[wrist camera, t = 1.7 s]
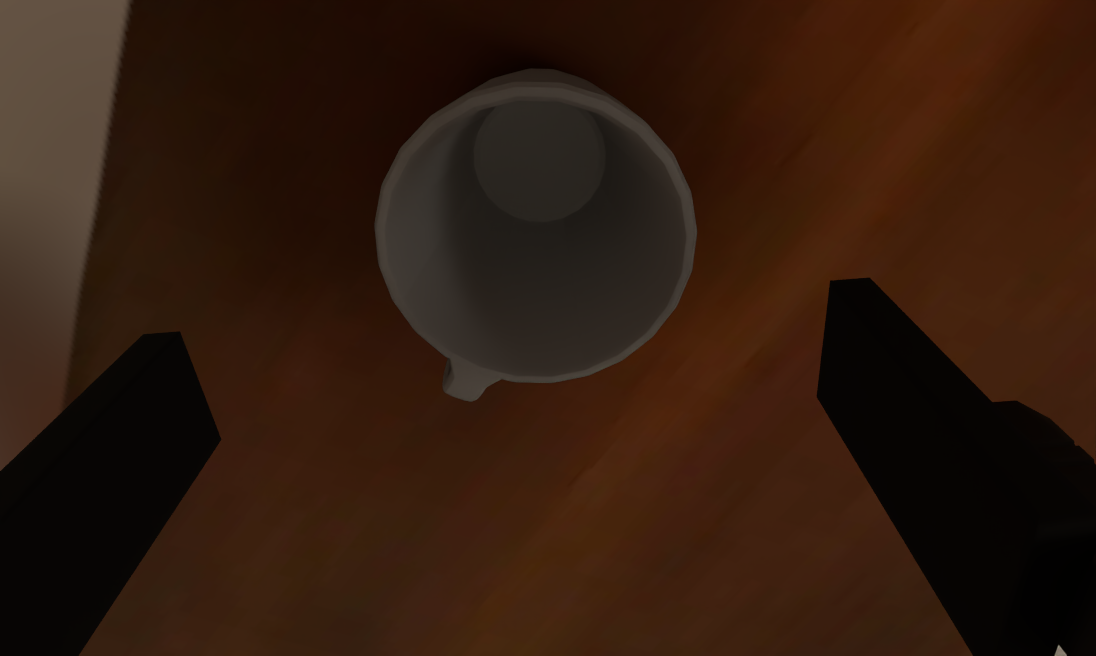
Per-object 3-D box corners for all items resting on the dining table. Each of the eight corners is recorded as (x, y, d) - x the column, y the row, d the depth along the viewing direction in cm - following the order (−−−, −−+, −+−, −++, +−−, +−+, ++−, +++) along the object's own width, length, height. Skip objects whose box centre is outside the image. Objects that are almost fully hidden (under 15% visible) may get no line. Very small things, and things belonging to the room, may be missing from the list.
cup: (692, 95, 23) (761, 170, 16) (565, 337, 27) (571, 486, 20) (475, -9, 21) (436, 18, 14) (378, 265, 26) (309, 396, 18)
